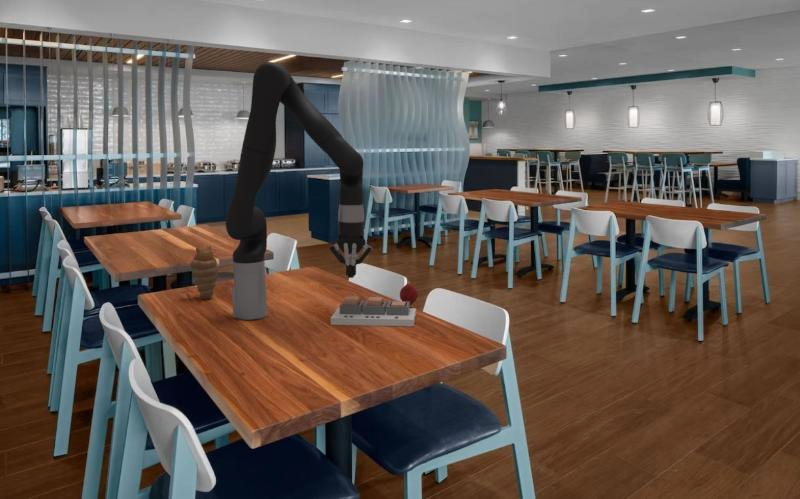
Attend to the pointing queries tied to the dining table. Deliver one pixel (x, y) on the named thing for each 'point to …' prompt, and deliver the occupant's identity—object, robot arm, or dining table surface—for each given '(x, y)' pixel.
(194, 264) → the cat ice cream
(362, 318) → the button panel
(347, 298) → the button two
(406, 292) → the onion
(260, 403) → the dining table surface
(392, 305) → the button one
